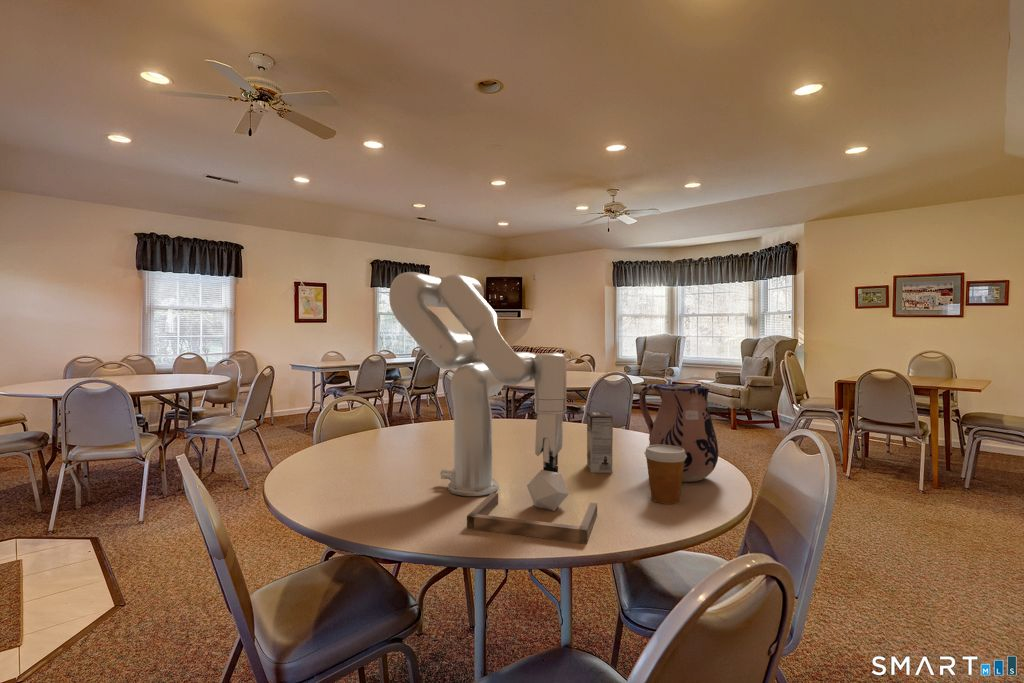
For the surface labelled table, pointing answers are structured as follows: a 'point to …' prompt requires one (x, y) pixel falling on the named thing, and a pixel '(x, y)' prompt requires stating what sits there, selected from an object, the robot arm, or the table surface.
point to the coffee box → (599, 441)
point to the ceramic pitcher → (684, 426)
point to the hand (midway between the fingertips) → (550, 482)
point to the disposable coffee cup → (665, 472)
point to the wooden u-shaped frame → (530, 523)
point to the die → (547, 490)
